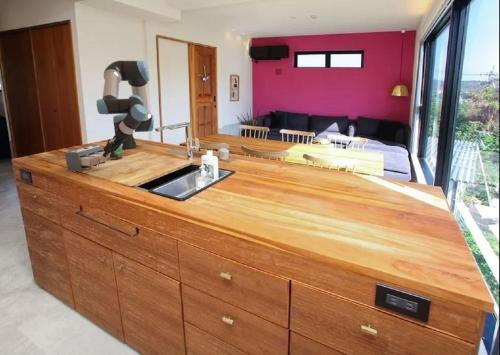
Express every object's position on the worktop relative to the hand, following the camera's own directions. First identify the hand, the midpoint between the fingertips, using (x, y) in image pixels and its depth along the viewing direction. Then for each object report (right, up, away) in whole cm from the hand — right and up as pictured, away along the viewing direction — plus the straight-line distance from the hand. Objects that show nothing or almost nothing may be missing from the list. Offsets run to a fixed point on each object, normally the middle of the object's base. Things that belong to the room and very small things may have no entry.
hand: (102, 159), depth 178 cm
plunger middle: (-5, -1, +2) cm, 5 cm away
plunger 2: (-7, +1, +9) cm, 12 cm away
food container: (0, +2, +23) cm, 23 cm away
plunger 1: (-6, -3, -4) cm, 8 cm away
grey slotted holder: (-11, -4, +5) cm, 12 cm away
